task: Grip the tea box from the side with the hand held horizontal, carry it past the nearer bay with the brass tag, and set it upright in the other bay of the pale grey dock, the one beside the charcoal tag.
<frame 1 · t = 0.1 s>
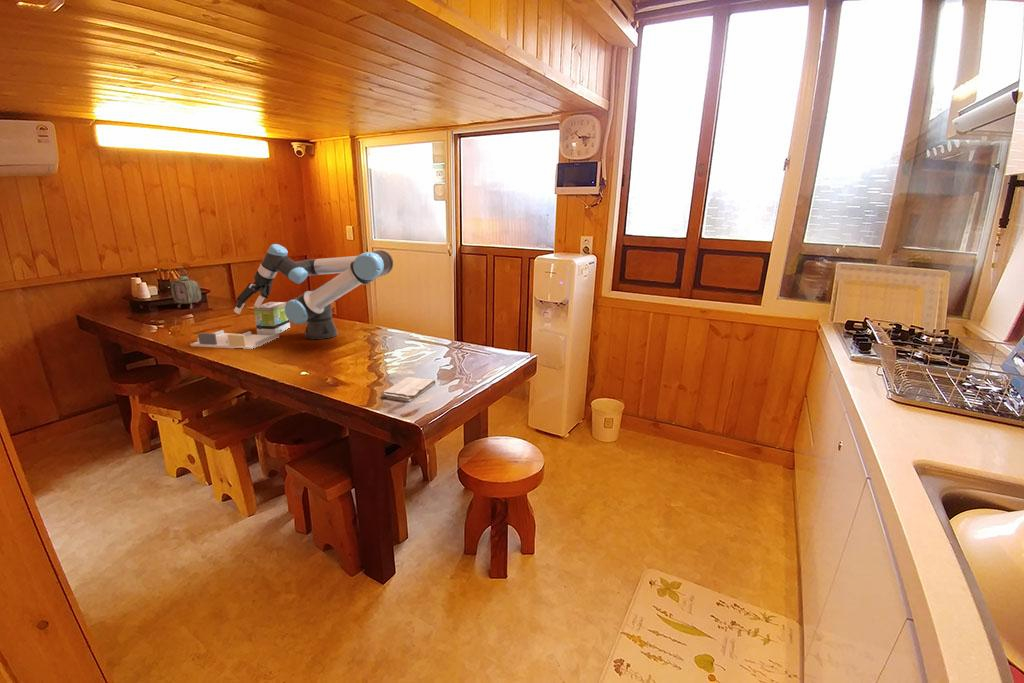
hand: (246, 309, 213), 15 cm above the table, tool tilted 35°, fingers open, 13 cm apart
washcloth: (409, 392, 160), on the table
tabletop clock: (189, 308, 286), on the table
tag dock: (236, 341, 215), on the table
tea box: (274, 332, 233), on the table
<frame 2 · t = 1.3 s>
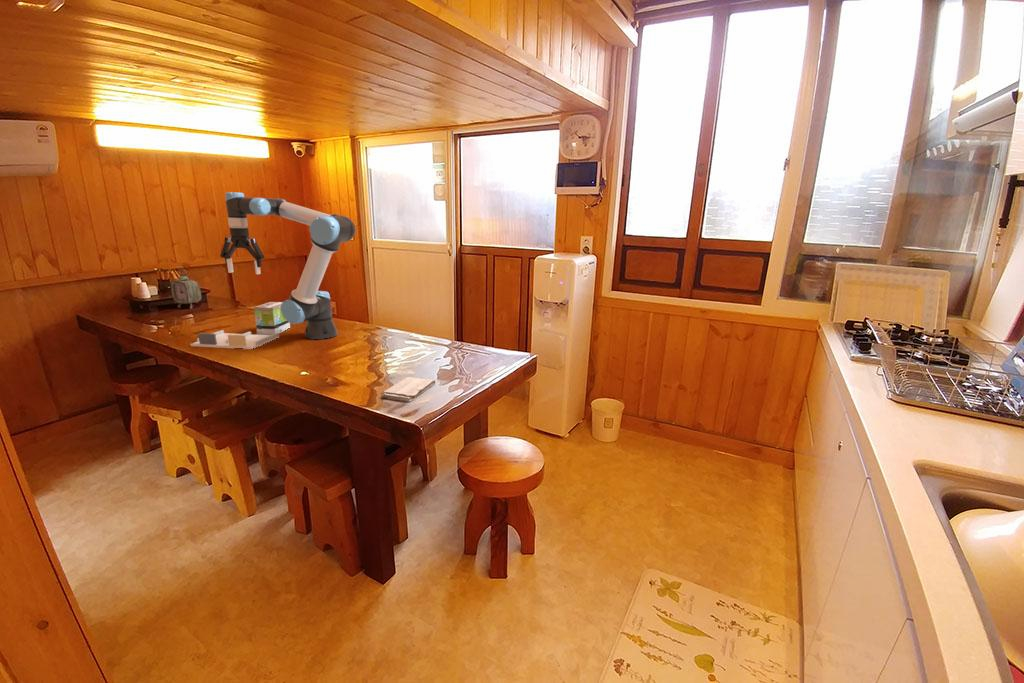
hand: (244, 273, 212), 32 cm above the table, tool pointing down, fingers open, 13 cm apart
nothing on the table moved.
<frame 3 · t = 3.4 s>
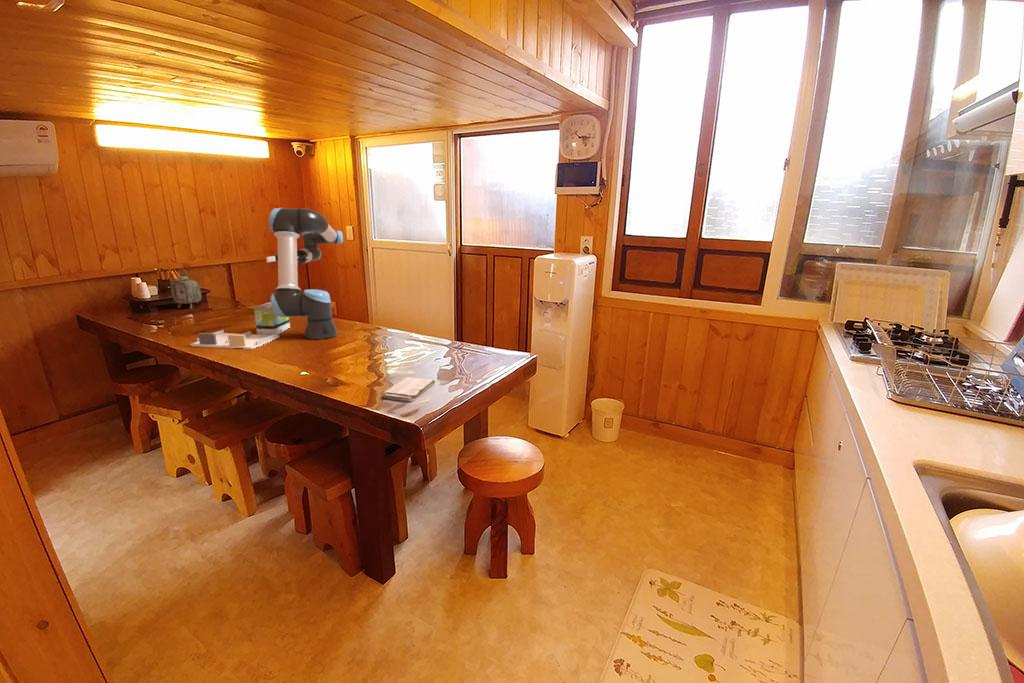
hand: (279, 260, 234), 36 cm above the table, tool horizontal, fingers open, 13 cm apart
nothing on the table moved.
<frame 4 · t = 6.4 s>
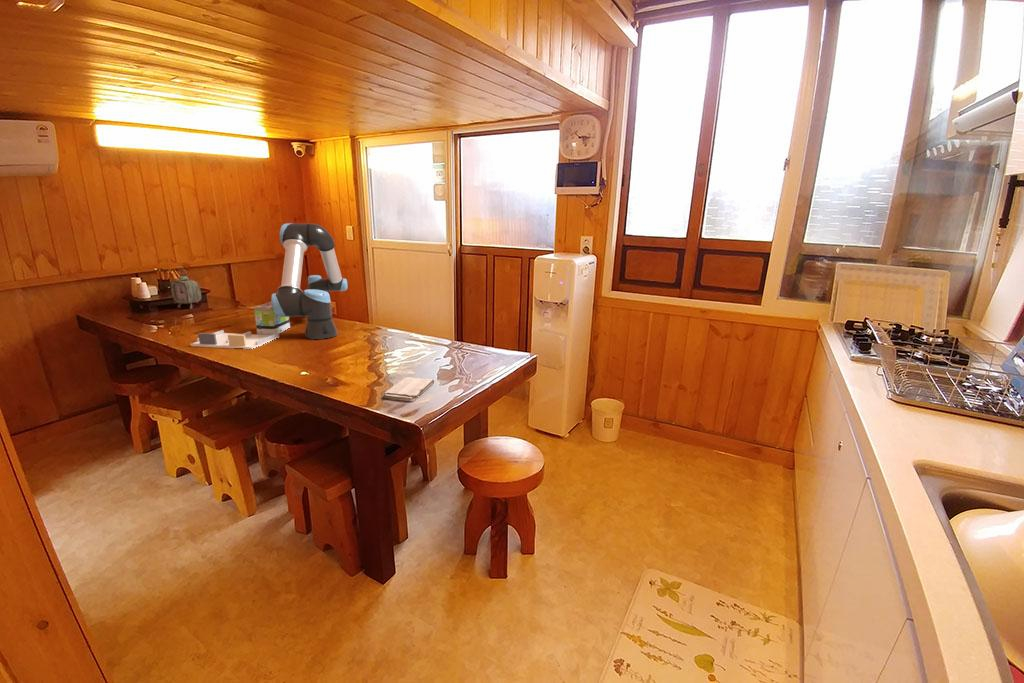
hand: (285, 312, 242), 8 cm above the table, tool horizontal, fingers open, 13 cm apart
nothing on the table moved.
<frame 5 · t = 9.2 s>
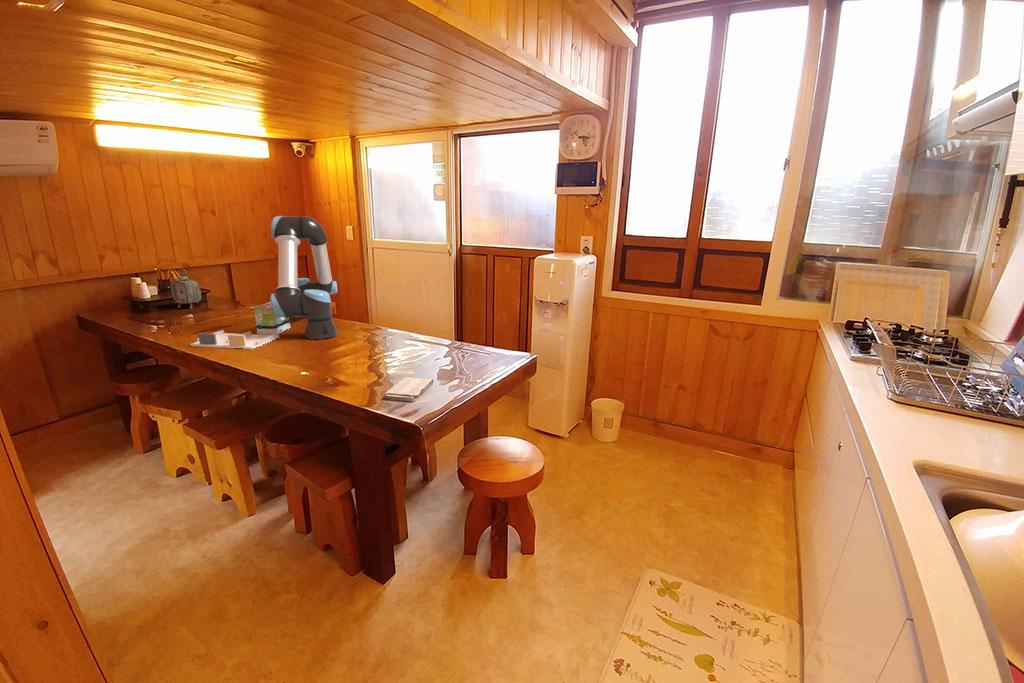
hand: (269, 317, 229), 8 cm above the table, tool horizontal, fingers closed on tea box, 10 cm apart
tea box: (274, 332, 233), on the table, touching gripper
everything else where it was.
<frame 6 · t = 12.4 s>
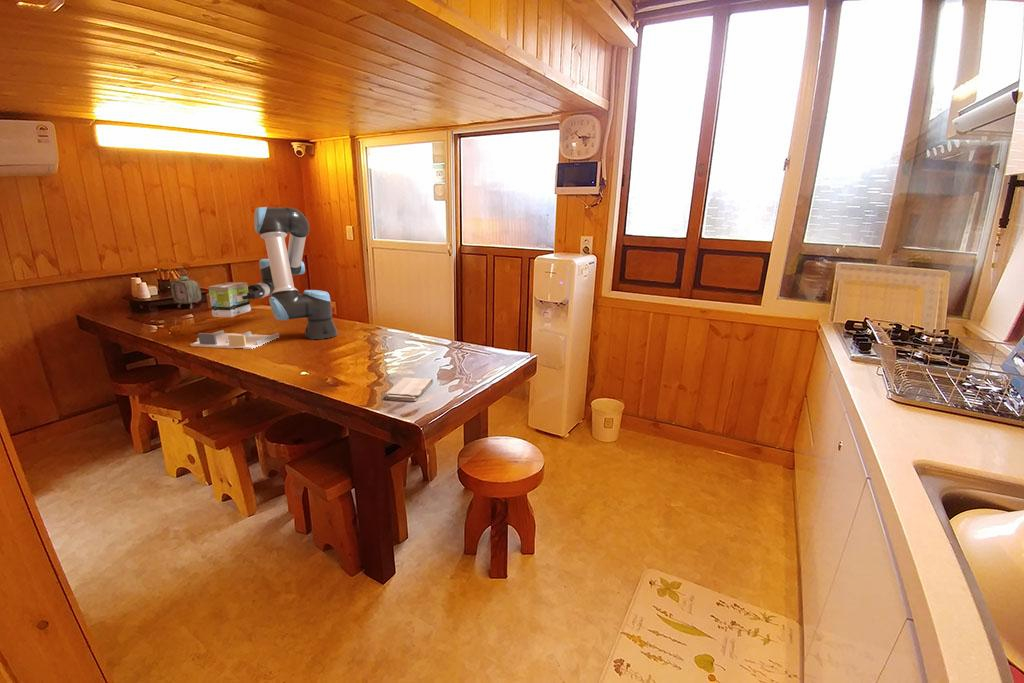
hand: (226, 298, 215), 20 cm above the table, tool horizontal, fingers closed on tea box, 10 cm apart
tea box: (232, 314, 219), point 12 cm above the table, touching gripper
everything else where it was.
when the fingers open (10 cm above the table, at t = 15.8 s): tea box drops 1 cm, resting on tag dock.
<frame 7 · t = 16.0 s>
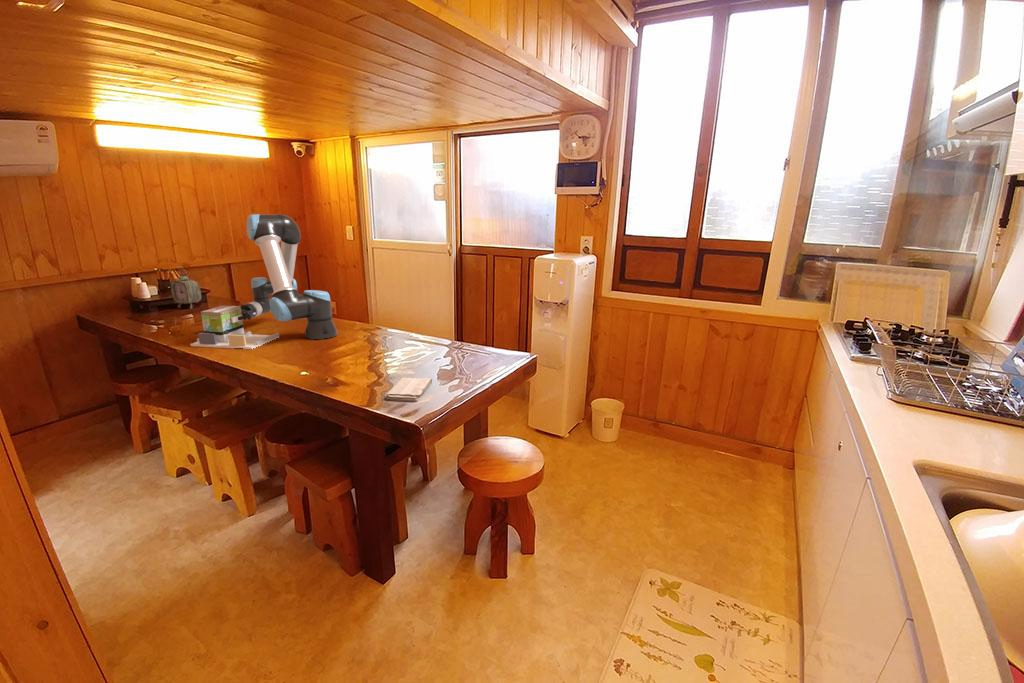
hand: (219, 319, 213), 10 cm above the table, tool horizontal, fingers open, 12 cm apart
tea box: (225, 338, 217), point 1 cm above the table, touching tag dock
everything else where it was.
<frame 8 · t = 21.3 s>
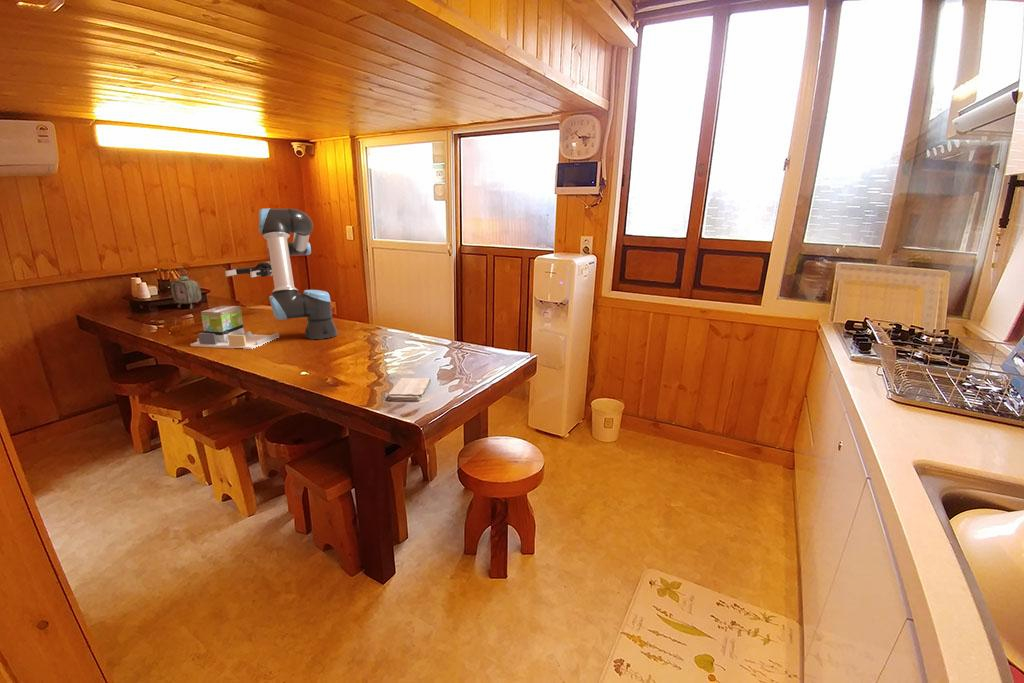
hand: (238, 274, 224), 30 cm above the table, tool horizontal, fingers open, 13 cm apart
at the end: tea box inside the target area on the tag dock (0.3 cm from its centre), point 0.8 cm above the tag dock's base; tea box tilted 0°; the gripper is holding nothing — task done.
